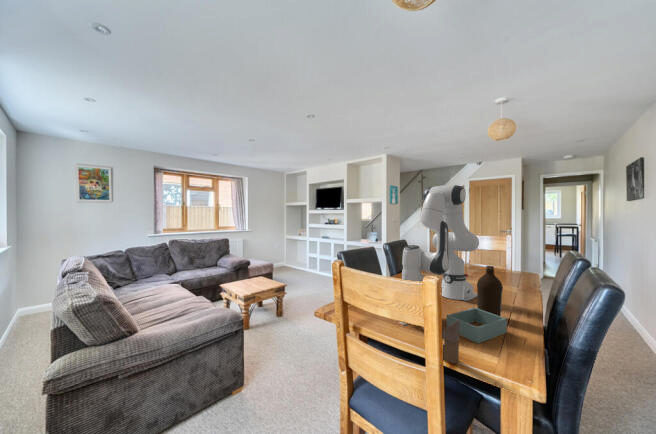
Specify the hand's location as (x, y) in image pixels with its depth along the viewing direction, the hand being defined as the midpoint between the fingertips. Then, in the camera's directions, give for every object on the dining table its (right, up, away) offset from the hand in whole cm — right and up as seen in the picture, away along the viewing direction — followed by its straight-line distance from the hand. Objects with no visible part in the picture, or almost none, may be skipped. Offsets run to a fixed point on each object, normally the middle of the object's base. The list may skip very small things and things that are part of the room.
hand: (410, 306), depth 124 cm
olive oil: (+38, -5, 0) cm, 39 cm away
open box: (+24, -5, -15) cm, 28 cm away
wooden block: (0, -6, -34) cm, 34 cm away
